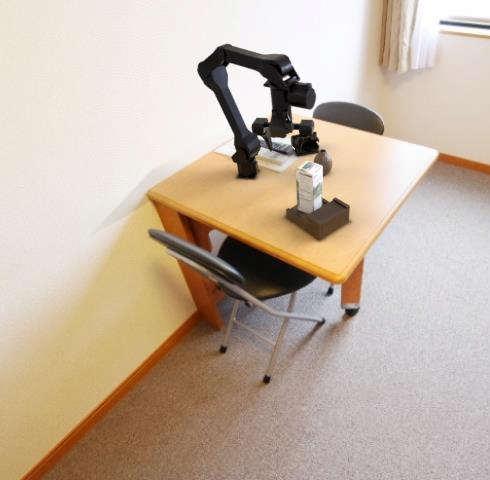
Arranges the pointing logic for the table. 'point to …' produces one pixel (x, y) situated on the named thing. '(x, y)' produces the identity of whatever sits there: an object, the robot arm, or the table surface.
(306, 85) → the robot arm
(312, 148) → the end cap
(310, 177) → the syrup box
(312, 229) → the dark brown boxy piece
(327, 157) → the vase
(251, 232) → the table surface
